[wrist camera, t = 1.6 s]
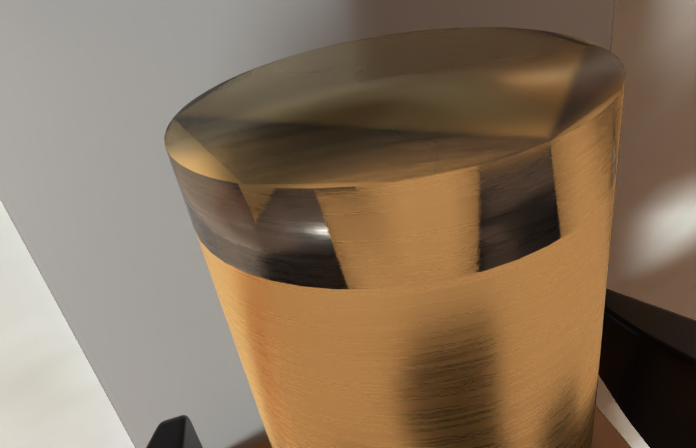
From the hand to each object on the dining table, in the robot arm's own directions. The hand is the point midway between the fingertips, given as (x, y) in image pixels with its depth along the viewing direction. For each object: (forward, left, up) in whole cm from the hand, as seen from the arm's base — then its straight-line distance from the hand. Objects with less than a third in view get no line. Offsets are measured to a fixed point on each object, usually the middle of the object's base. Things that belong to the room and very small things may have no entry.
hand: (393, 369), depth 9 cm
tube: (-2, 0, 0) cm, 2 cm away
